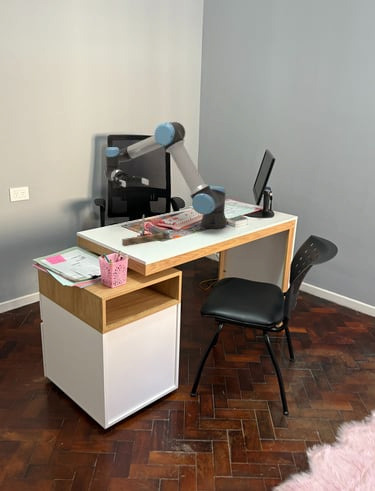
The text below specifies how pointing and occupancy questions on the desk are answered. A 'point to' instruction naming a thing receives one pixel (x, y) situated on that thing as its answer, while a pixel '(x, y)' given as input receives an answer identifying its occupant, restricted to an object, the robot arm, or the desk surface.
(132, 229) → the desk surface
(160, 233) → the guide track
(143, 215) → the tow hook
